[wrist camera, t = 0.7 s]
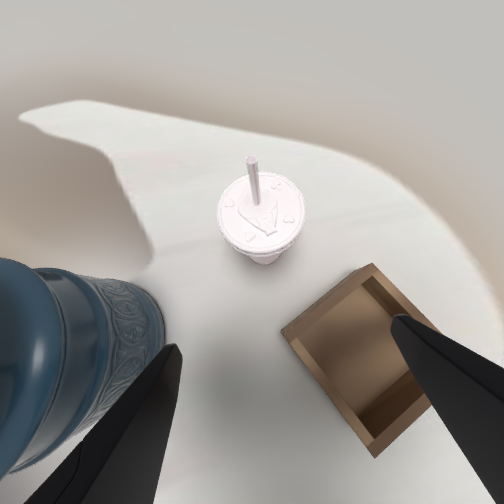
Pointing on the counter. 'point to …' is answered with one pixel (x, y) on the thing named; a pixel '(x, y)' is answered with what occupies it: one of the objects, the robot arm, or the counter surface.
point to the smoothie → (261, 214)
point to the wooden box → (362, 355)
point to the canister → (65, 355)
